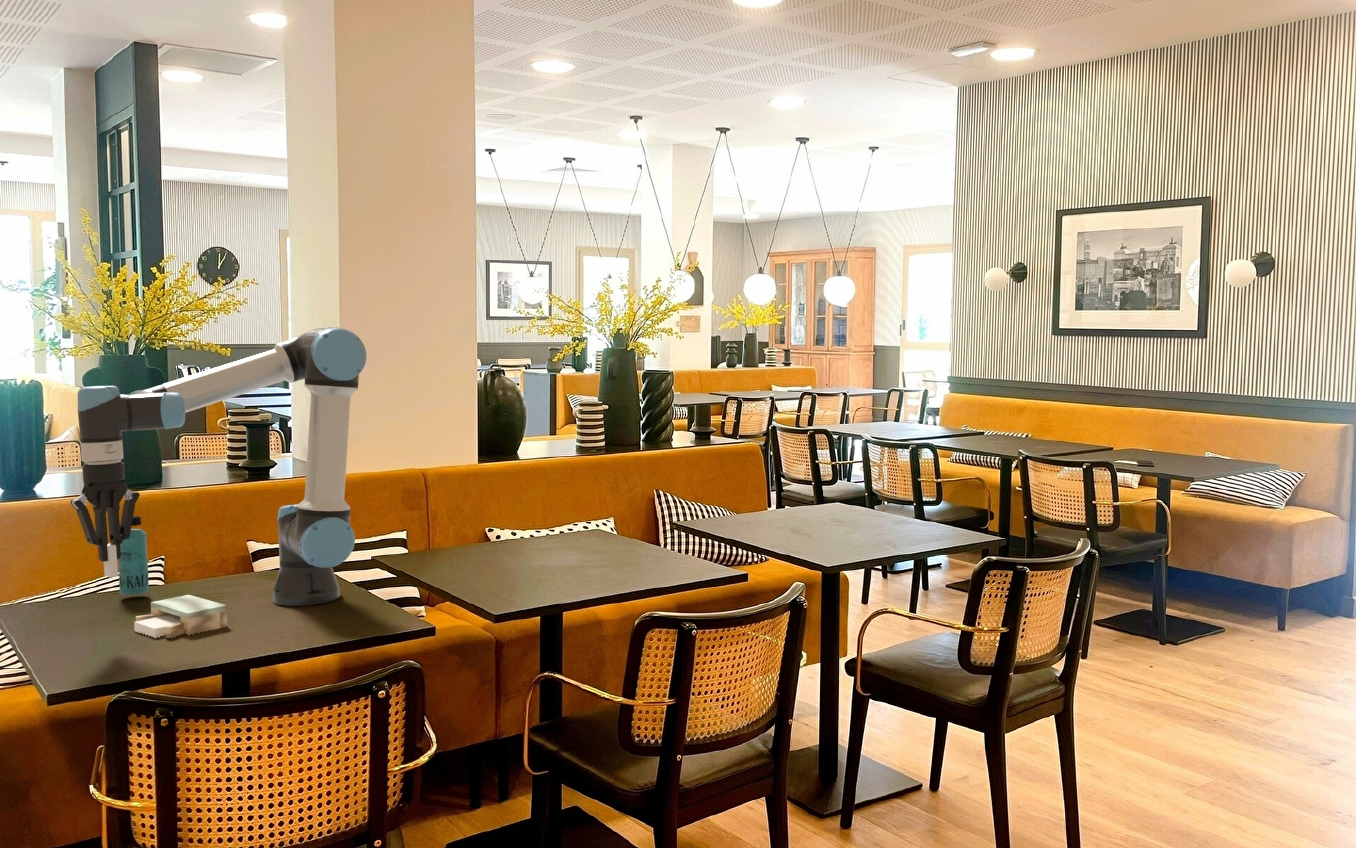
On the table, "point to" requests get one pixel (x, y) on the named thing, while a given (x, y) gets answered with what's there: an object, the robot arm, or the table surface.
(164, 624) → the white eraser slab
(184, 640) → the table surface
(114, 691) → the table surface
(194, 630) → the miniature low table
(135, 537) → the beverage bottle
